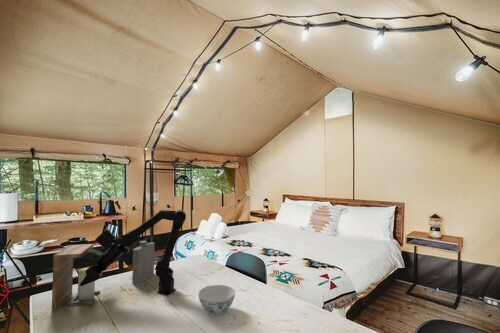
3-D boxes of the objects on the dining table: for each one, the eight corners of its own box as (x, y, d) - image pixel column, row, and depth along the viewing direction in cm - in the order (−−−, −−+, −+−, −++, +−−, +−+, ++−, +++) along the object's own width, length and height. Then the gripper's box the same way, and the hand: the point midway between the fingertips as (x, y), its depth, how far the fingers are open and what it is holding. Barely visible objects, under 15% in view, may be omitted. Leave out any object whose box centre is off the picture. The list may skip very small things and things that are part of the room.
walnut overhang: (101, 290, 127) (103, 243, 128) (90, 306, 111) (91, 253, 112) (68, 293, 124) (69, 245, 124) (51, 310, 108) (53, 255, 109)
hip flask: (136, 285, 134) (137, 245, 134) (129, 284, 135) (130, 244, 135) (154, 273, 149) (155, 238, 150) (148, 273, 150) (149, 237, 151)
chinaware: (192, 309, 110) (192, 290, 110) (222, 299, 119) (223, 282, 119) (209, 326, 98) (209, 305, 98) (242, 313, 107) (242, 294, 108)
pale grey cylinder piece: (96, 299, 118) (96, 270, 118) (79, 304, 114) (80, 273, 114) (92, 294, 123) (93, 266, 123) (76, 299, 118) (77, 269, 119)
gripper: (104, 238, 129) (78, 262, 126) (91, 248, 111) (60, 277, 108) (121, 253, 131) (96, 277, 128) (111, 266, 113) (81, 295, 110)
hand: (84, 281), depth 118 cm, fingers open, 9 cm apart
